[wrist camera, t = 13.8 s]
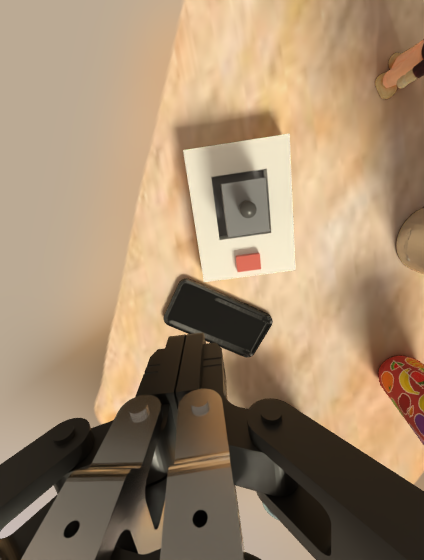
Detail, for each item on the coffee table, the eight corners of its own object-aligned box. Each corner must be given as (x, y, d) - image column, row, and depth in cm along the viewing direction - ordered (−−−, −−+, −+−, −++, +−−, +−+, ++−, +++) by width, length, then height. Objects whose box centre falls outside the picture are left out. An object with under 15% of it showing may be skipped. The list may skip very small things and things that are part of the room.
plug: (255, 179, 35) (269, 176, 26) (259, 223, 36) (273, 234, 28) (220, 184, 35) (222, 184, 26) (225, 227, 37) (229, 240, 28)
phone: (250, 359, 43) (161, 322, 41) (249, 355, 44) (162, 319, 42) (275, 318, 40) (182, 276, 38) (274, 314, 42) (183, 274, 40)
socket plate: (283, 137, 33) (291, 132, 30) (289, 263, 38) (297, 272, 35) (185, 153, 34) (182, 149, 30) (204, 275, 39) (203, 284, 36)
